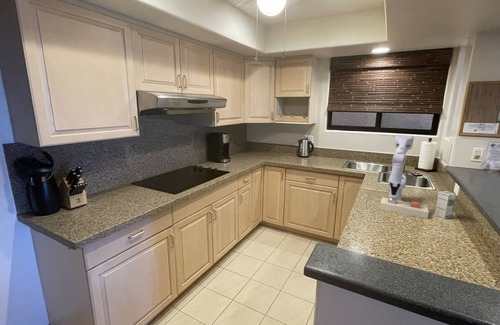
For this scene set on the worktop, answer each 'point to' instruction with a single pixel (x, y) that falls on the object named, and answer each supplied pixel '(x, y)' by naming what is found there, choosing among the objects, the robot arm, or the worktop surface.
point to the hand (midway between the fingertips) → (393, 194)
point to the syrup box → (445, 204)
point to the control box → (404, 208)
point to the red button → (415, 204)
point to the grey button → (392, 200)
